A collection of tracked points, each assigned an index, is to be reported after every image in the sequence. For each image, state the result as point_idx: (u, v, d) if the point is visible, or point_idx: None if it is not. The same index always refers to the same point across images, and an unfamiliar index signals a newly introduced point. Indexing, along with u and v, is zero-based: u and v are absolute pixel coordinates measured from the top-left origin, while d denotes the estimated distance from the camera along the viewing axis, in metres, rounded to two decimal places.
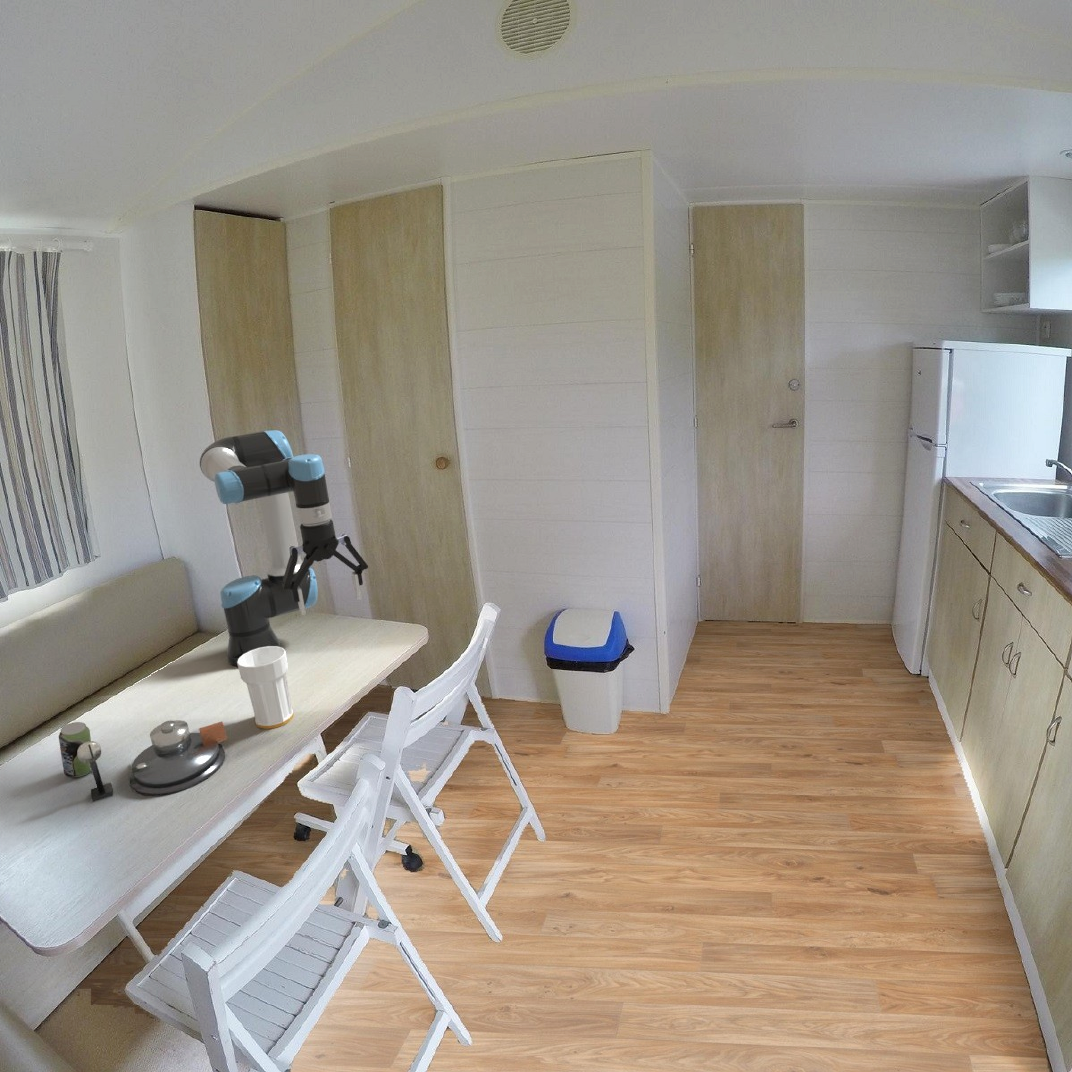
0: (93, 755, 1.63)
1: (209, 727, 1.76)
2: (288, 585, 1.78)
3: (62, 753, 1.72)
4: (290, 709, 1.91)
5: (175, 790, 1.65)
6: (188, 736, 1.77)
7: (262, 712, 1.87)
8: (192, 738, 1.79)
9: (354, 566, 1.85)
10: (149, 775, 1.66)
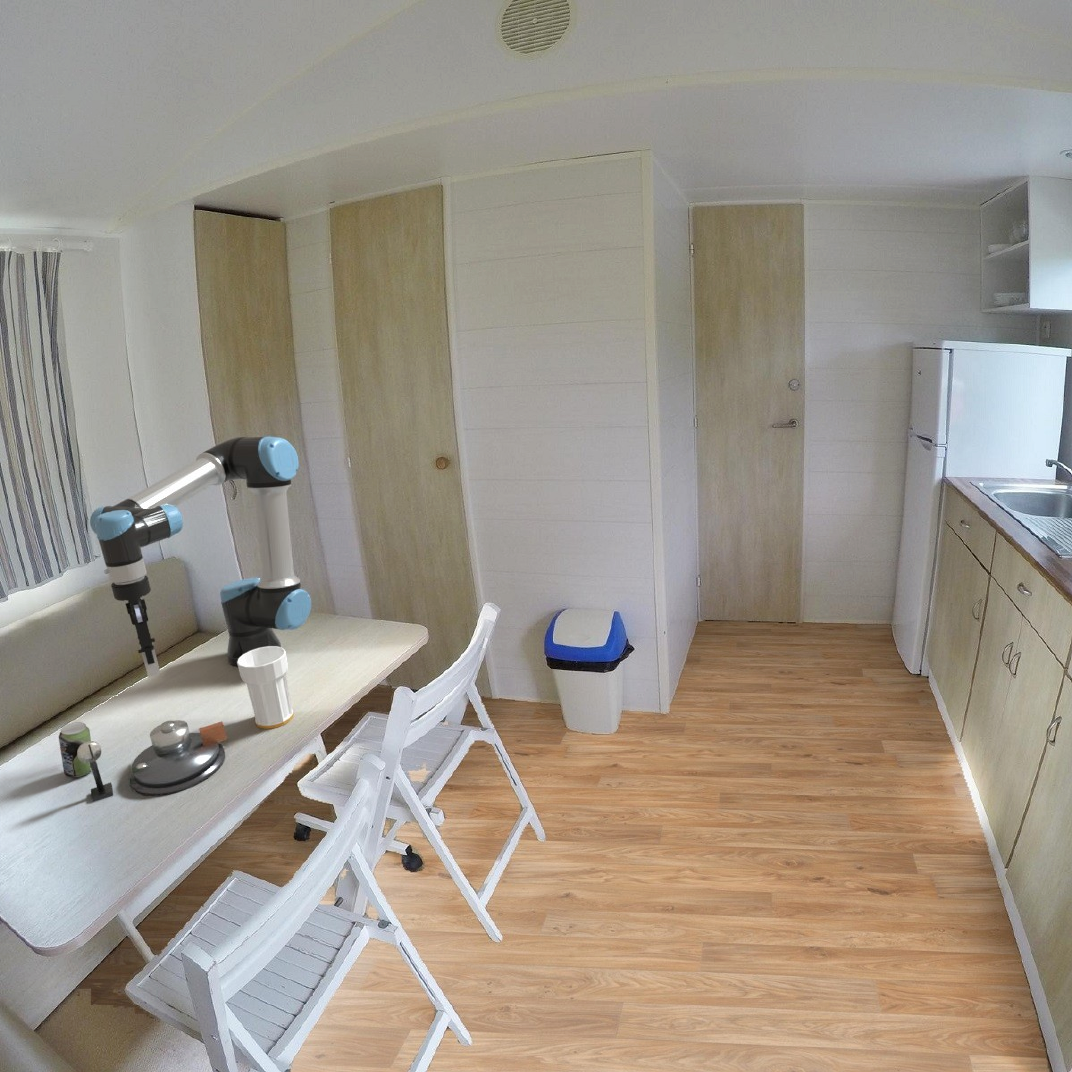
0: (93, 755, 1.63)
1: (209, 727, 1.76)
2: None
3: (62, 753, 1.72)
4: (290, 709, 1.91)
5: (175, 790, 1.65)
6: (188, 736, 1.77)
7: (262, 712, 1.87)
8: (192, 738, 1.79)
9: None
10: (149, 775, 1.66)
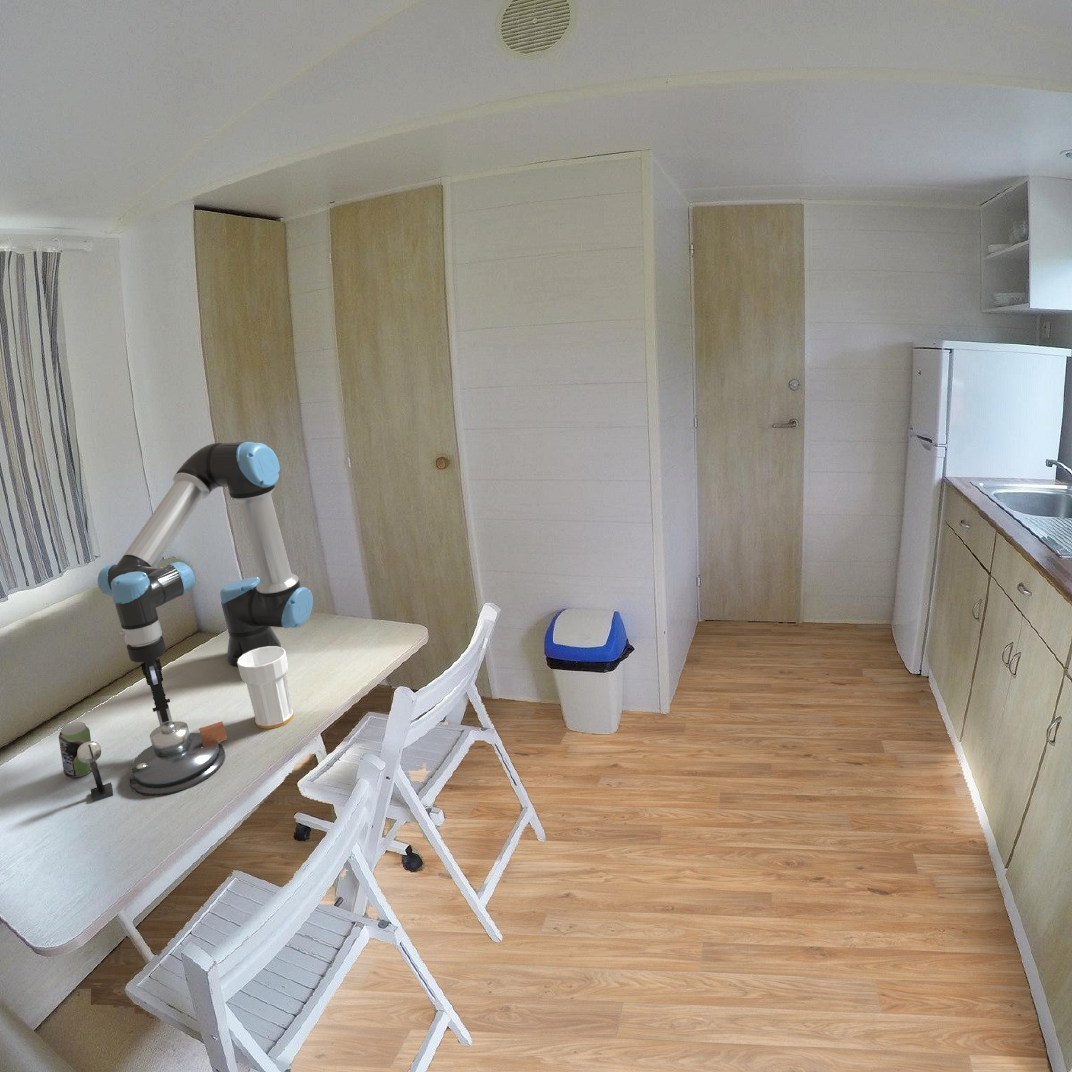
0: (93, 755, 1.63)
1: (209, 727, 1.76)
2: None
3: (62, 753, 1.72)
4: (290, 709, 1.91)
5: (175, 790, 1.65)
6: (188, 737, 1.77)
7: (262, 712, 1.87)
8: (192, 738, 1.79)
9: None
10: (149, 775, 1.66)
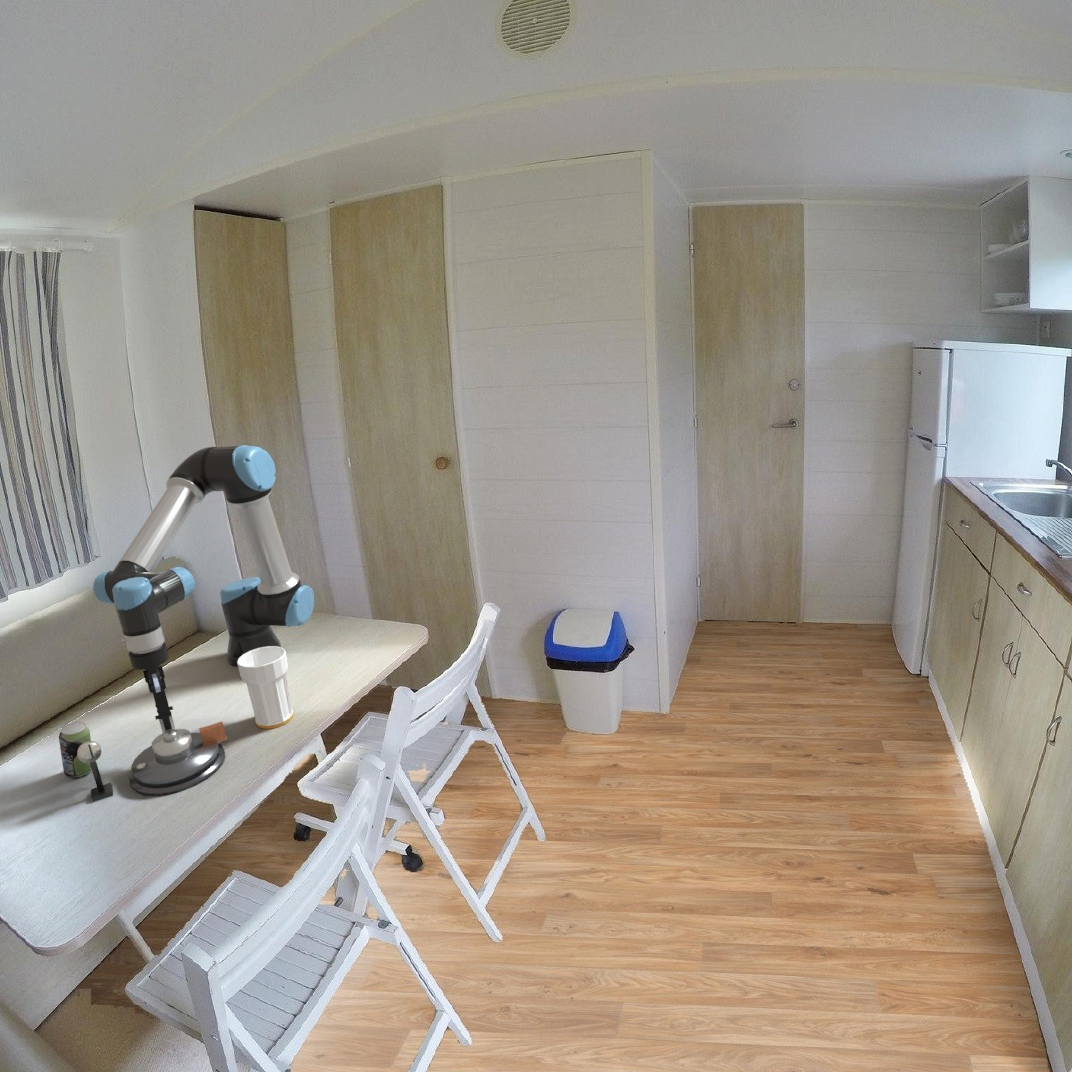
0: (93, 755, 1.63)
1: (209, 727, 1.76)
2: (155, 704, 1.76)
3: (62, 753, 1.72)
4: (290, 709, 1.91)
5: (175, 790, 1.65)
6: (190, 745, 1.73)
7: (262, 712, 1.87)
8: (192, 738, 1.79)
9: None
10: (149, 775, 1.66)
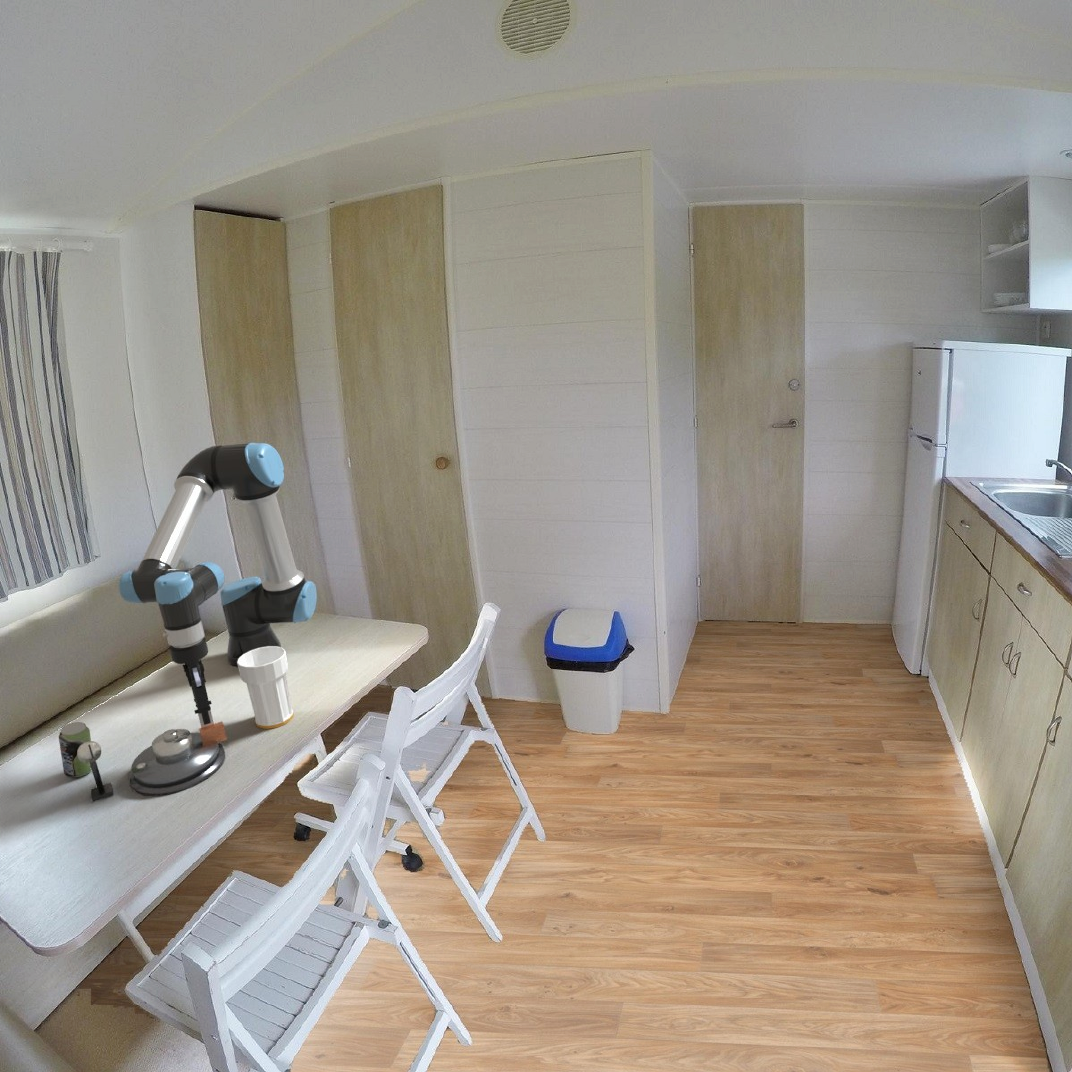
0: (93, 755, 1.63)
1: (209, 727, 1.76)
2: (194, 698, 1.77)
3: (62, 753, 1.72)
4: (290, 709, 1.91)
5: (175, 790, 1.65)
6: (191, 745, 1.73)
7: (262, 712, 1.87)
8: (192, 738, 1.79)
9: (196, 704, 1.73)
10: (149, 775, 1.66)
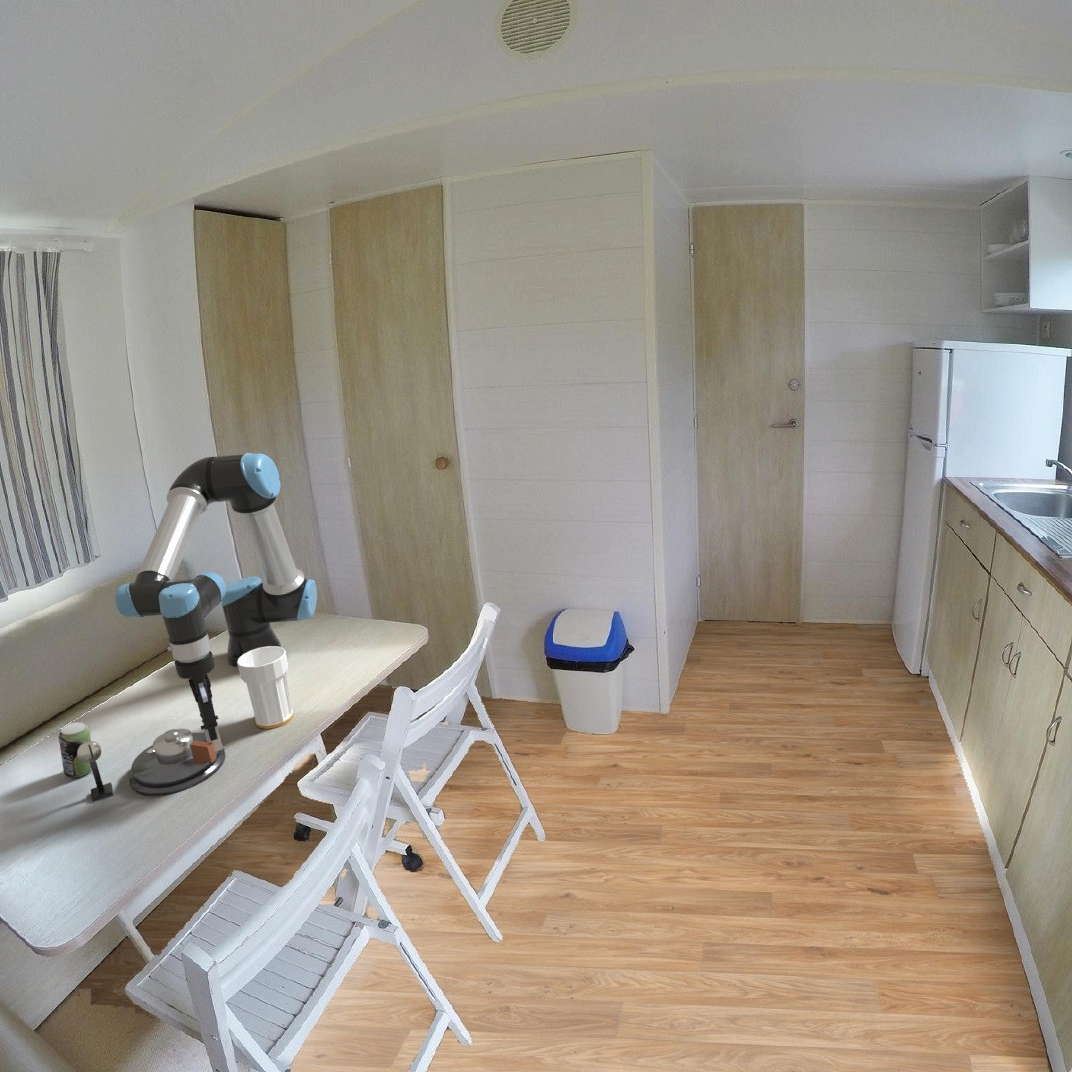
0: (93, 755, 1.63)
1: (199, 743, 1.69)
2: (200, 713, 1.71)
3: (62, 753, 1.72)
4: (290, 709, 1.91)
5: (175, 790, 1.65)
6: (180, 754, 1.70)
7: (262, 712, 1.87)
8: None
9: (202, 719, 1.67)
10: (137, 764, 1.71)
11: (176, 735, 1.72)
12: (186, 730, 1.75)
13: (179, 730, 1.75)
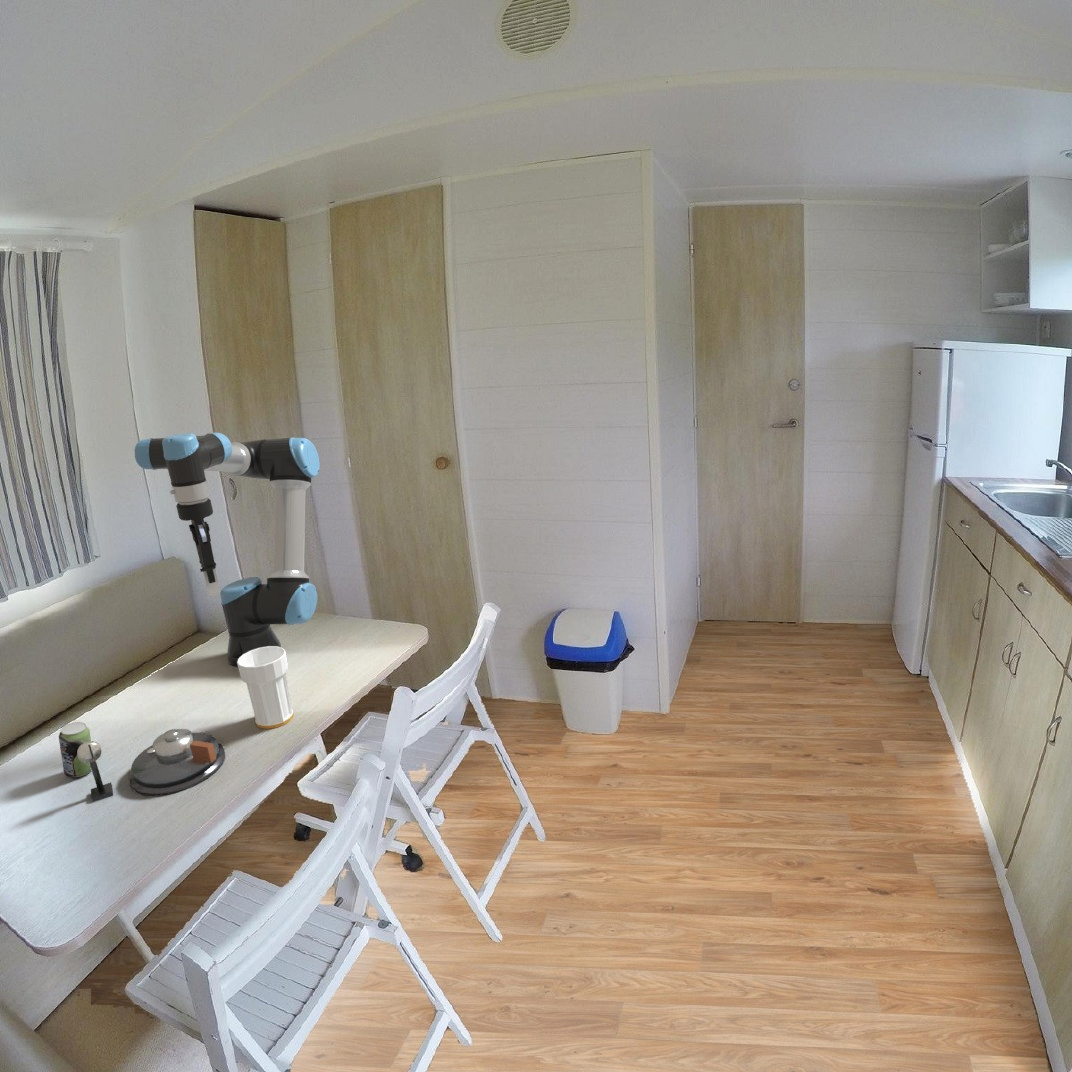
0: (93, 755, 1.63)
1: (199, 744, 1.69)
2: None
3: (62, 753, 1.72)
4: (290, 709, 1.91)
5: (175, 790, 1.65)
6: (180, 754, 1.70)
7: (262, 712, 1.87)
8: None
9: (202, 562, 1.83)
10: (137, 764, 1.71)
11: (176, 735, 1.72)
12: (186, 730, 1.75)
13: (179, 730, 1.75)
